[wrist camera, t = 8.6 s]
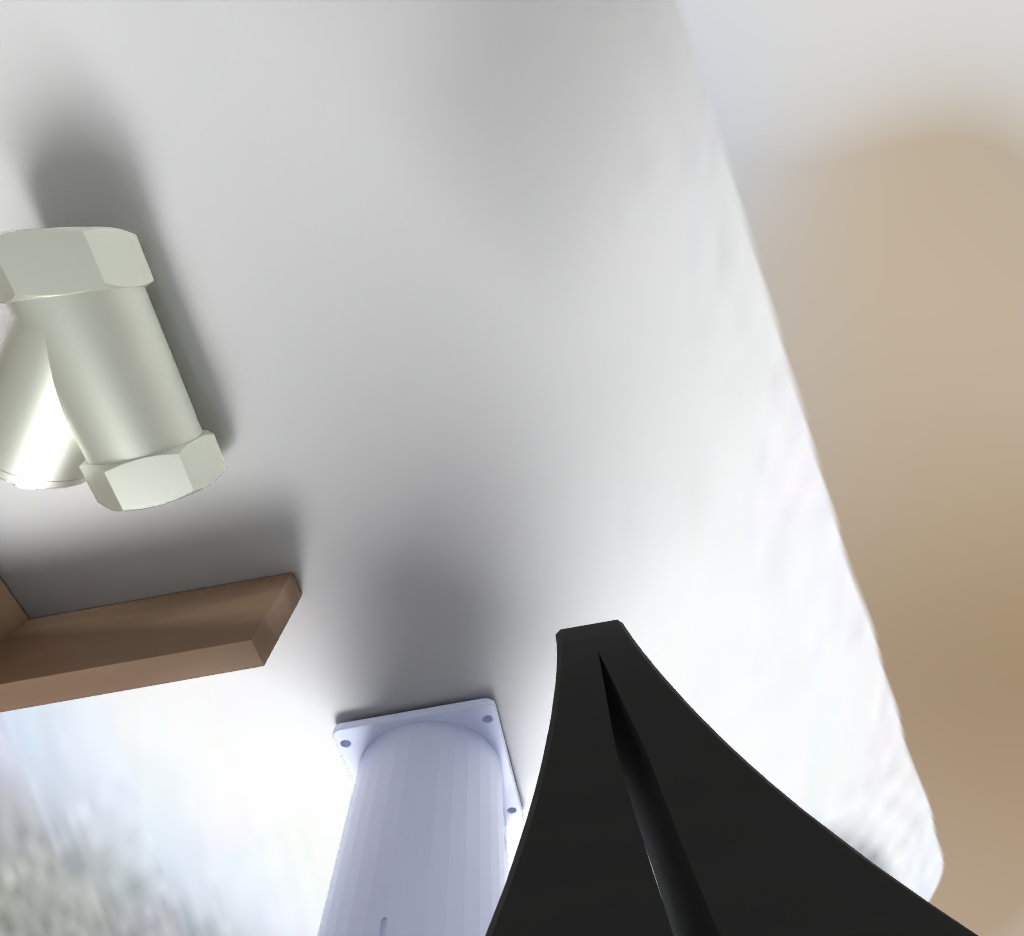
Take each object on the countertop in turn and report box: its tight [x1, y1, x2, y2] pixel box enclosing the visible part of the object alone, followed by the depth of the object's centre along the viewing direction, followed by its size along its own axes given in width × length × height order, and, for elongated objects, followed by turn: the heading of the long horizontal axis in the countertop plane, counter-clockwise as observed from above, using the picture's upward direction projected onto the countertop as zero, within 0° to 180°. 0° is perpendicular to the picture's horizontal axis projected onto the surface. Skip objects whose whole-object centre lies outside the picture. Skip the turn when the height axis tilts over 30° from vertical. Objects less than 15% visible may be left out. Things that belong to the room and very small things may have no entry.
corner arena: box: [0, 573, 302, 712], centre depth 16 cm, size 16×13×4 cm
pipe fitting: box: [0, 227, 227, 511], centre depth 16 cm, size 8×4×7 cm
